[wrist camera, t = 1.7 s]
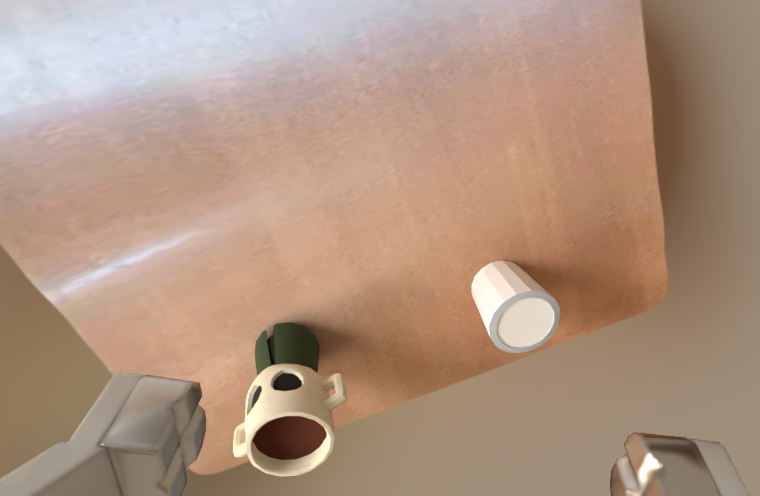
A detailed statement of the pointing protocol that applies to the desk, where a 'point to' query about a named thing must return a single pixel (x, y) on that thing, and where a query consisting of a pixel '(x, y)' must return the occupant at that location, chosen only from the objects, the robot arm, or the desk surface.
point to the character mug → (289, 405)
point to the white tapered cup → (514, 307)
